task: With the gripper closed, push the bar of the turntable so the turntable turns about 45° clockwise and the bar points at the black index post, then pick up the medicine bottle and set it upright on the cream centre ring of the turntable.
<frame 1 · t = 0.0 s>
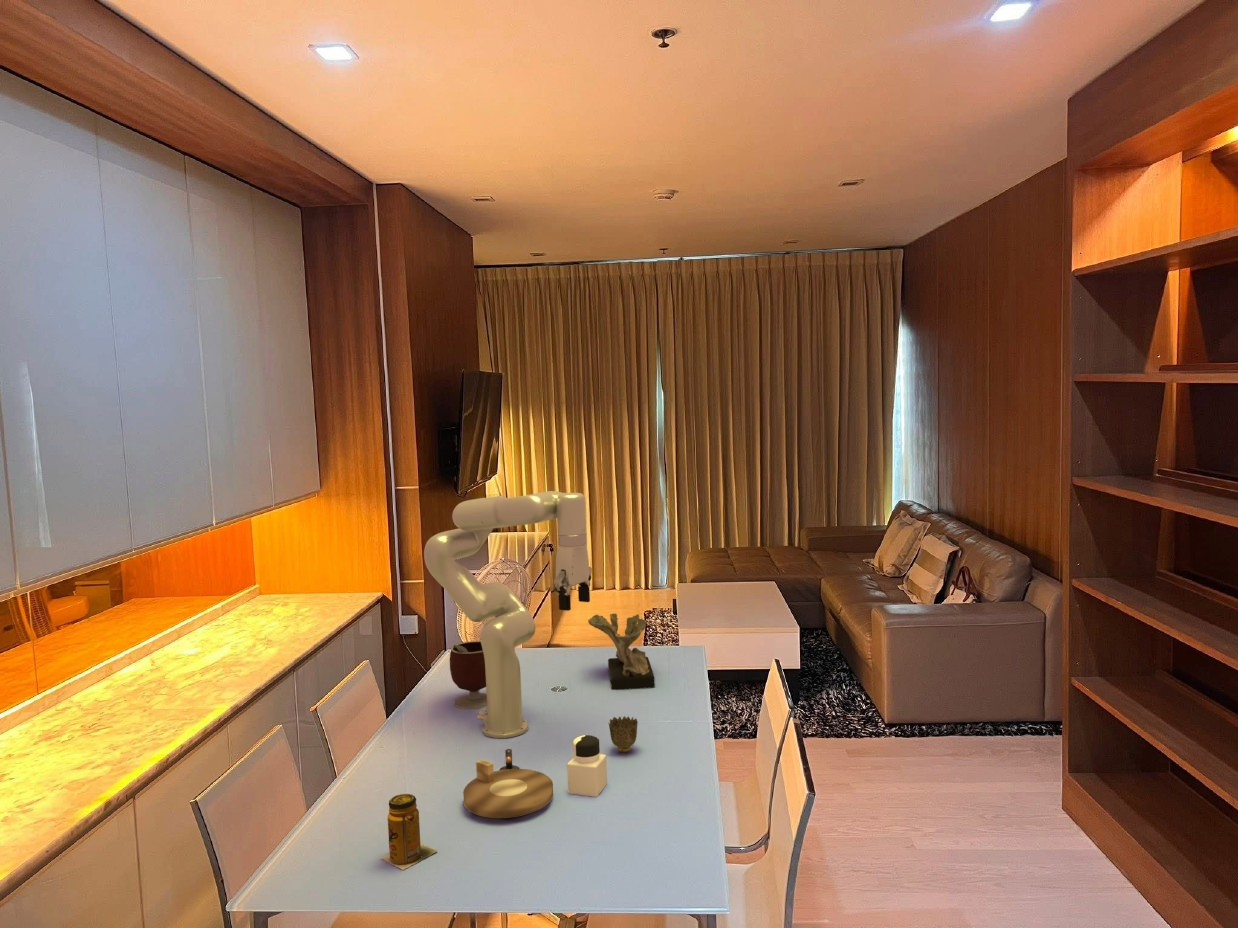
hand: (574, 605, 218), 37 cm above the table, tool pointing down, fingers open, 9 cm apart
index post: (509, 772, 204), on the table
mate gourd: (473, 703, 254), on the table
turntable base: (509, 801, 189), on the table
brown textured pot: (624, 752, 214), on the table
condiment: (409, 856, 167), on the table
turntable: (508, 783, 188), point 4 cm above the table, hinge at 0.0°
medicine bottle: (588, 789, 194), on the table
coral: (621, 680, 271), on the table
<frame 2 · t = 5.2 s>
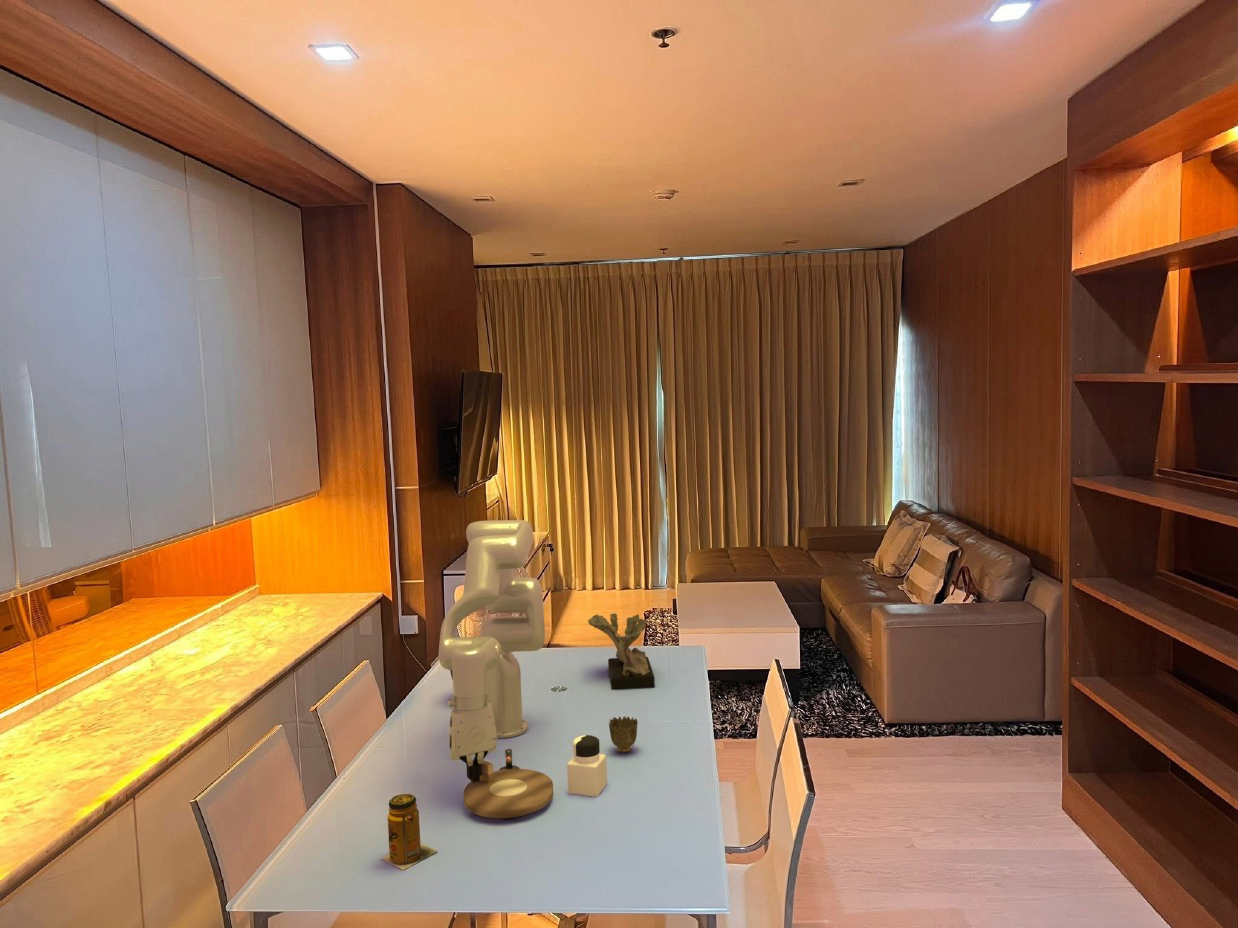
hand: (474, 779, 191), 4 cm above the table, tool pointing down, fingers closed
turntable: (508, 783, 188), point 4 cm above the table, hinge at -0.2°, touching gripper
everything else where it was.
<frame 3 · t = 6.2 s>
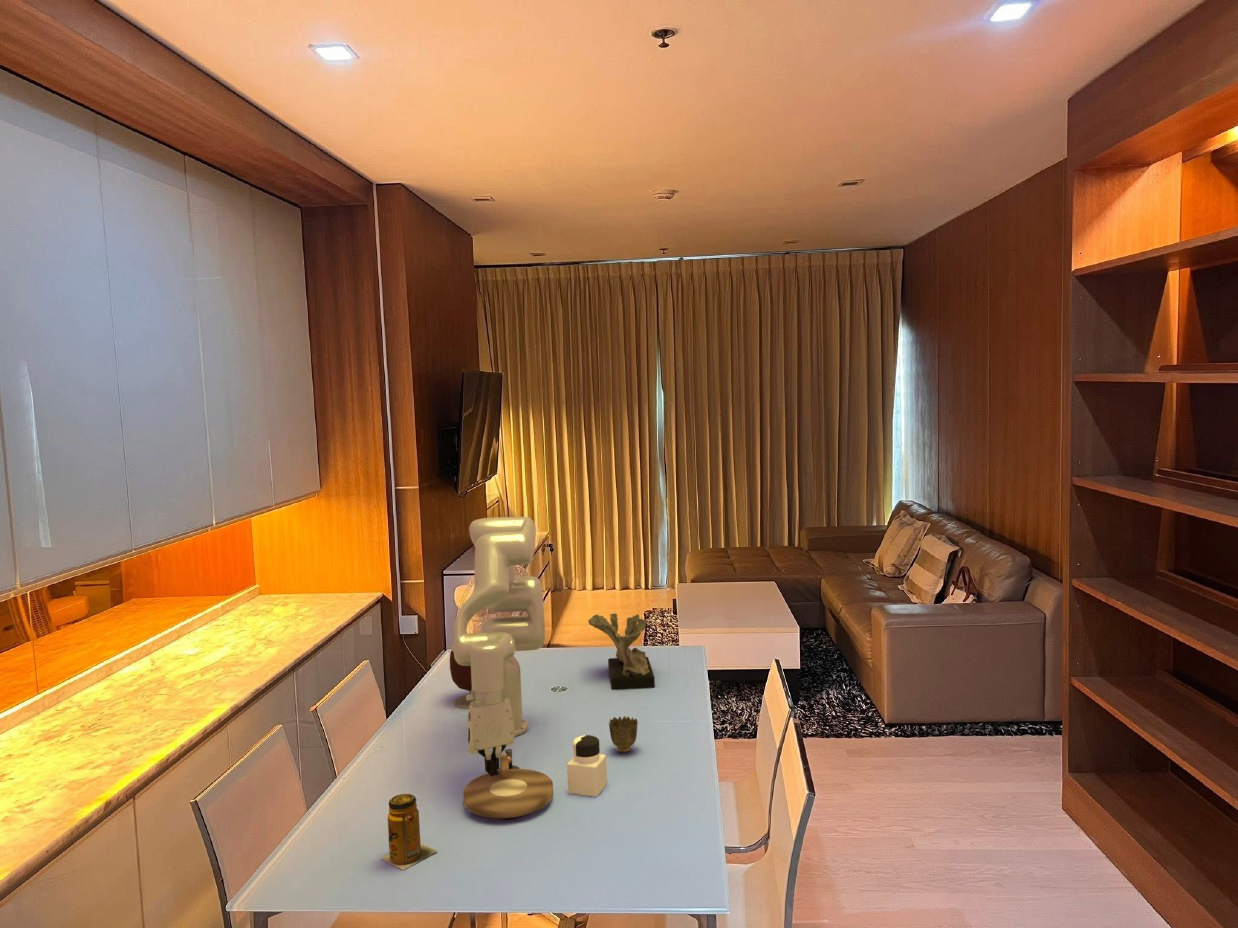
hand: (492, 773, 193), 5 cm above the table, tool pointing down, fingers closed
turntable: (508, 783, 188), point 4 cm above the table, hinge at -37.9°, touching gripper
everything else where it was.
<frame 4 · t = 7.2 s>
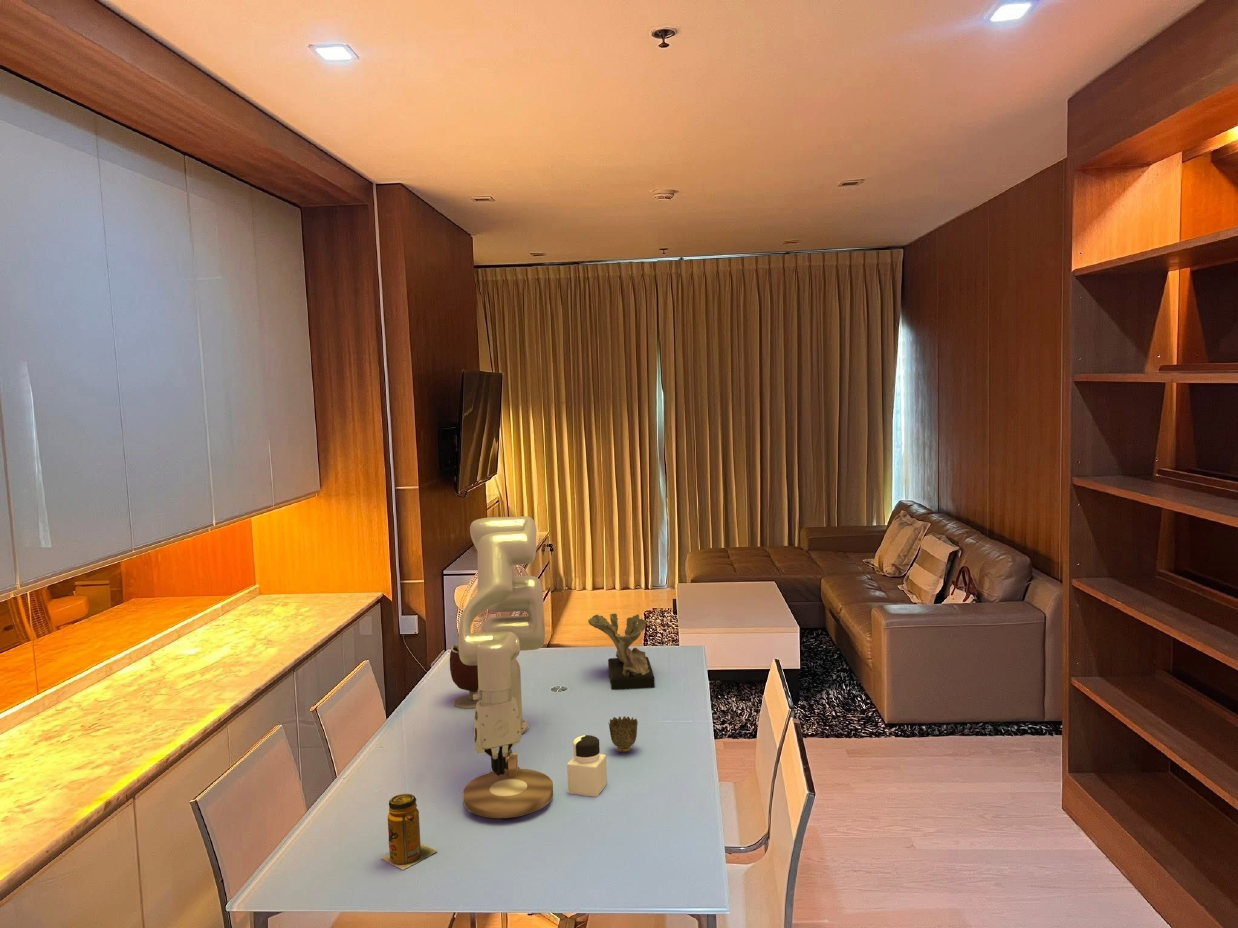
hand: (498, 772, 193), 5 cm above the table, tool pointing down, fingers closed
turntable: (508, 783, 188), point 4 cm above the table, hinge at -53.6°
everything else where it was.
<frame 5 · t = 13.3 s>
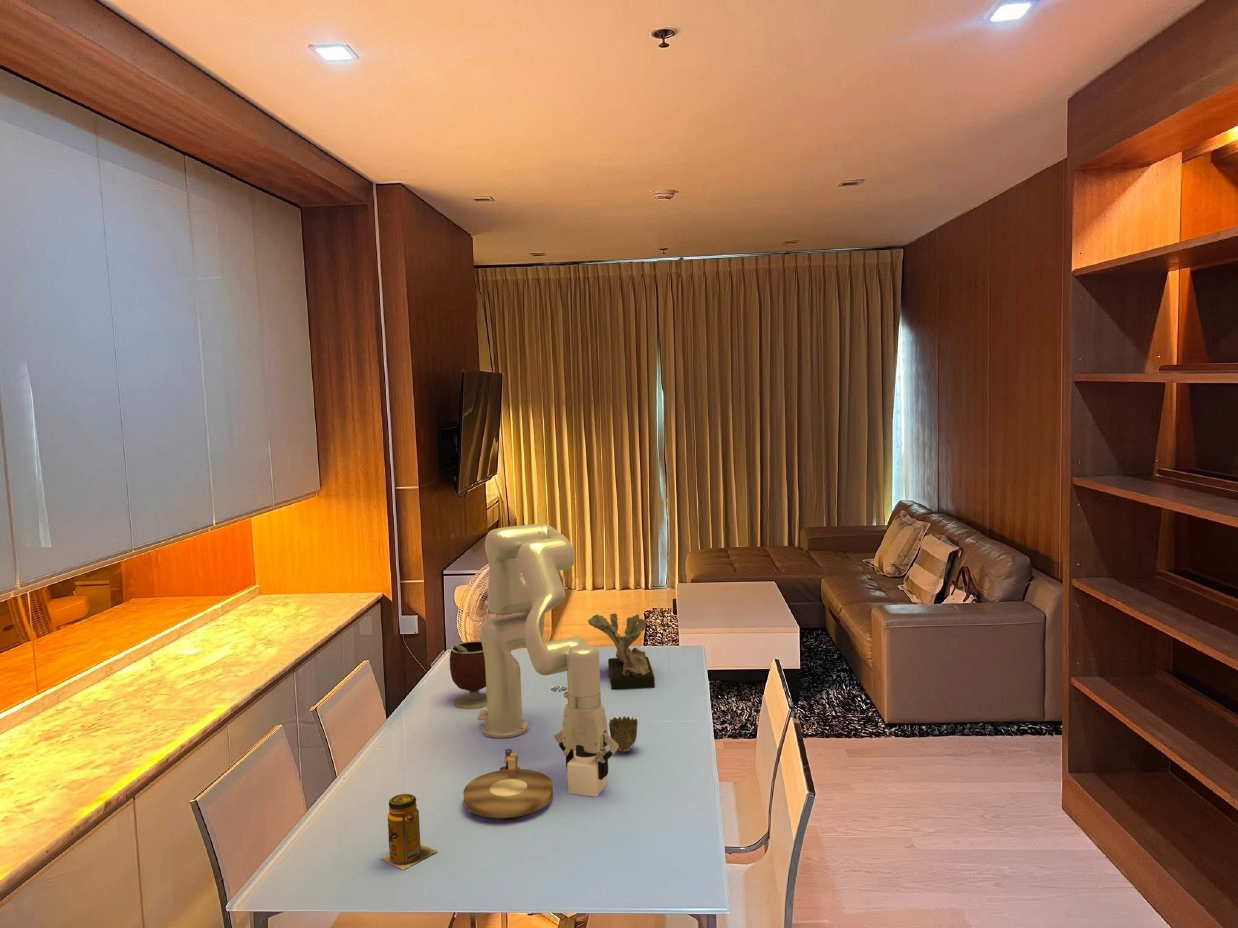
hand: (587, 773, 194), 4 cm above the table, tool pointing down, fingers closed on medicine bottle, 7 cm apart
medicine bottle: (587, 789, 194), on the table, touching gripper
everything else where it was.
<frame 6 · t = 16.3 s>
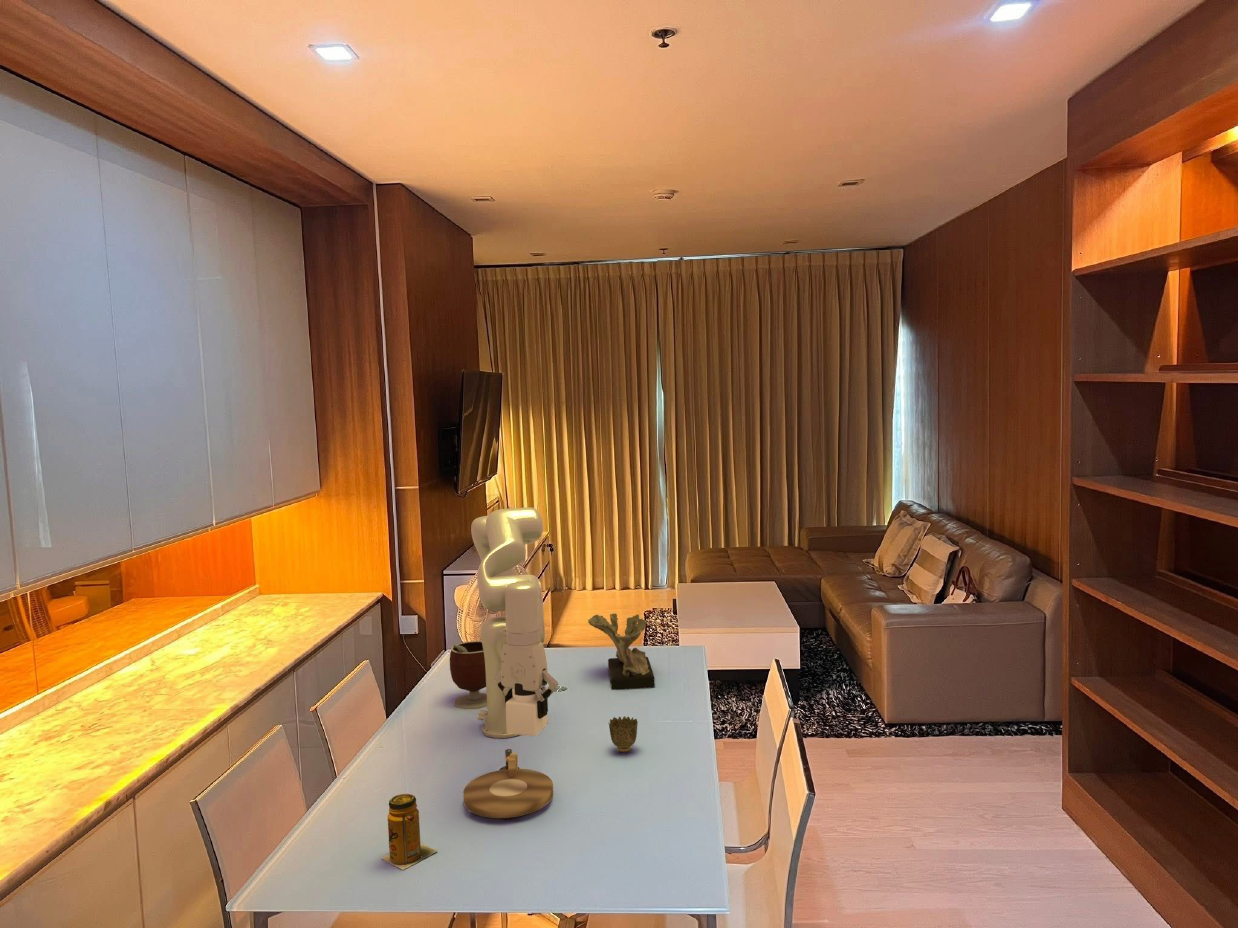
hand: (526, 713, 189), 20 cm above the table, tool pointing down, fingers closed on medicine bottle, 7 cm apart
medicine bottle: (527, 729, 189), point 16 cm above the table, touching gripper
everything else where it was.
when the fingers open (8 cm above the table, at t = 19.5 s): medicine bottle drops 1 cm, resting on turntable.
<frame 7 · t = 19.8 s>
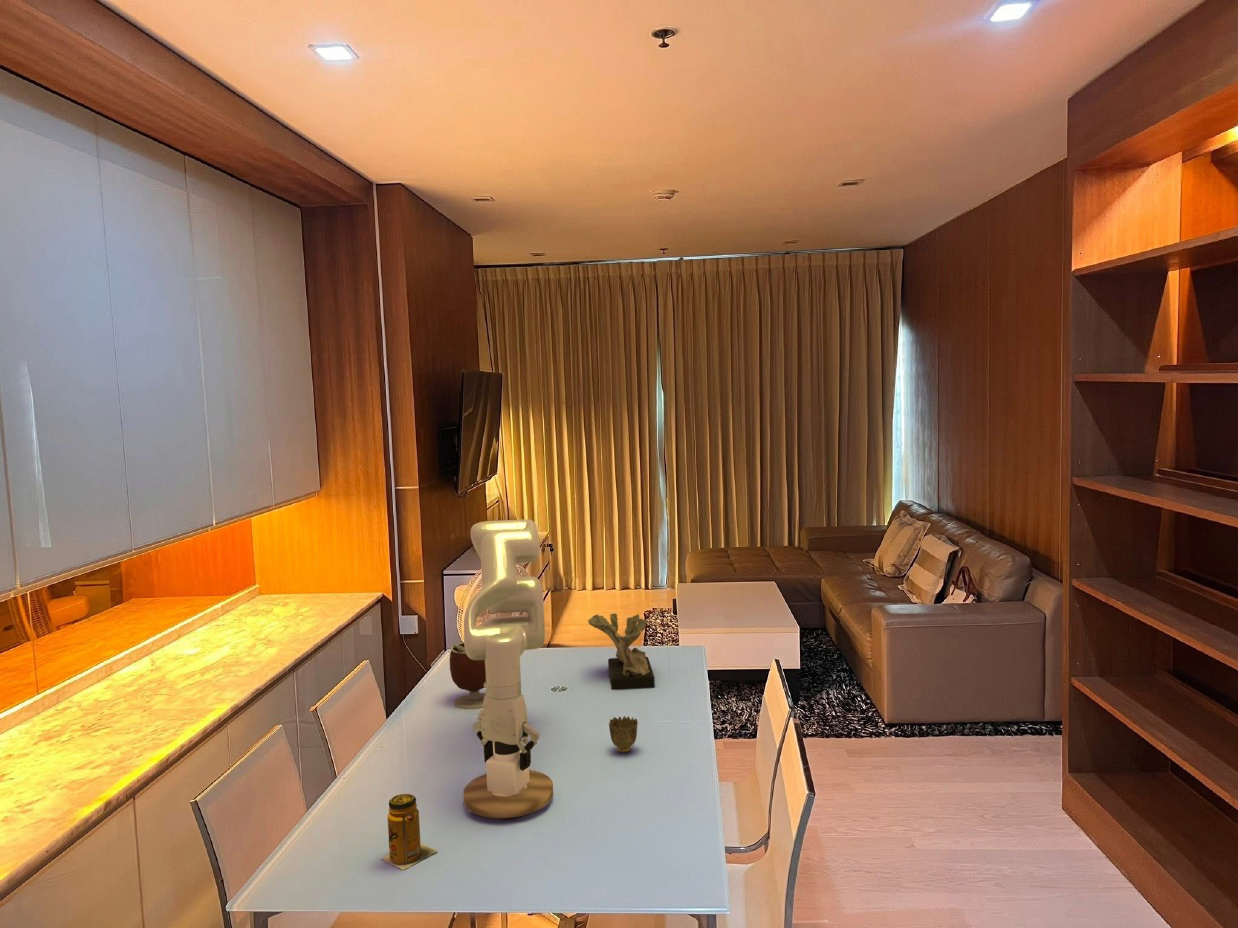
hand: (507, 764, 188), 9 cm above the table, tool pointing down, fingers open, 9 cm apart
turntable: (508, 783, 188), point 4 cm above the table, hinge at -53.6°, touching medicine bottle
medicine bottle: (508, 787, 189), point 3 cm above the table, touching turntable
everything else where it was.
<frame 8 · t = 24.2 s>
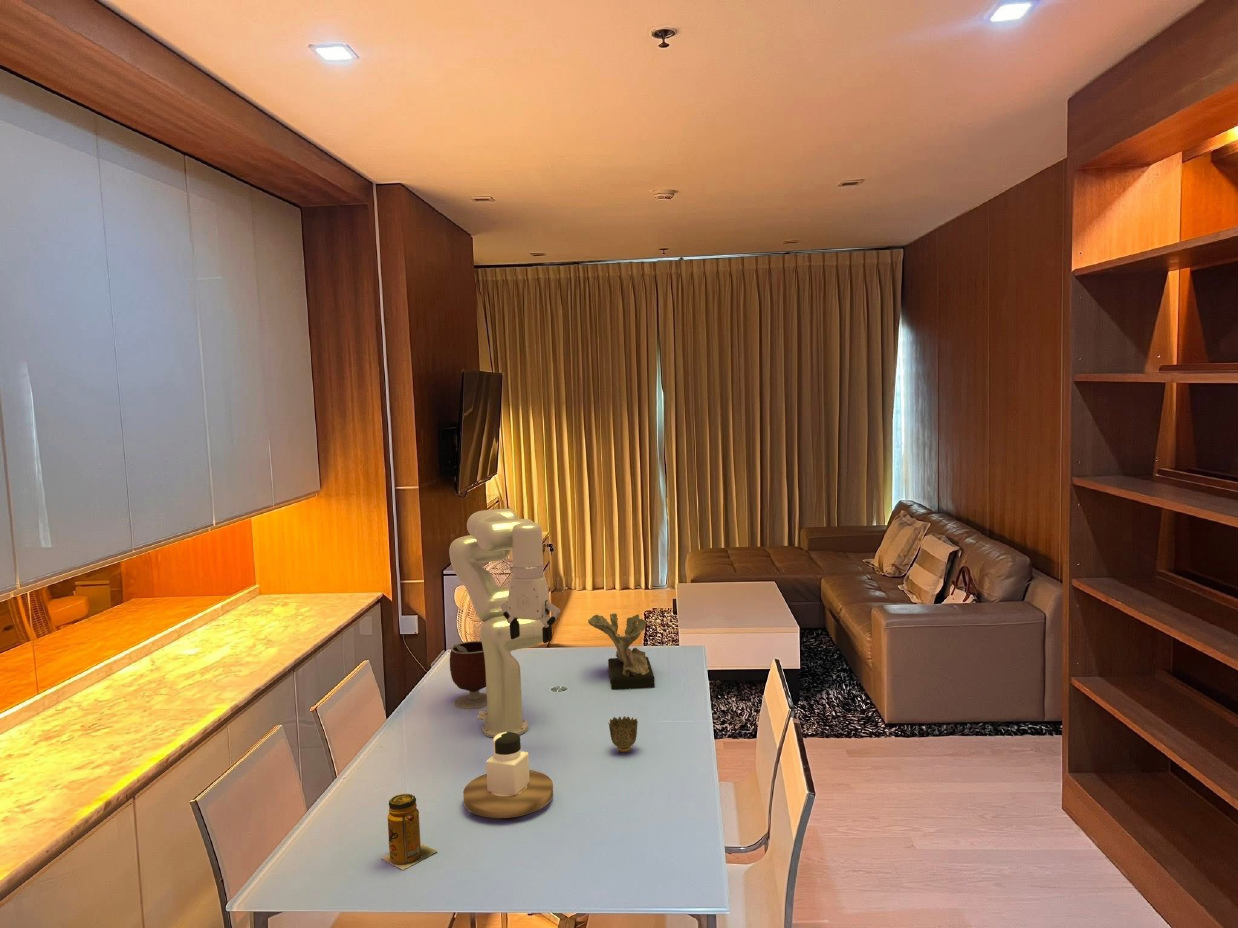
hand: (531, 639, 211), 30 cm above the table, tool pointing down, fingers open, 9 cm apart
nothing on the table moved.
at the end: turntable at -54° (first picture: +0°); medicine bottle 0.1 cm off-centre on the turntable, point 3.2 cm above the turntable's base; medicine bottle tilted 0° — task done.
